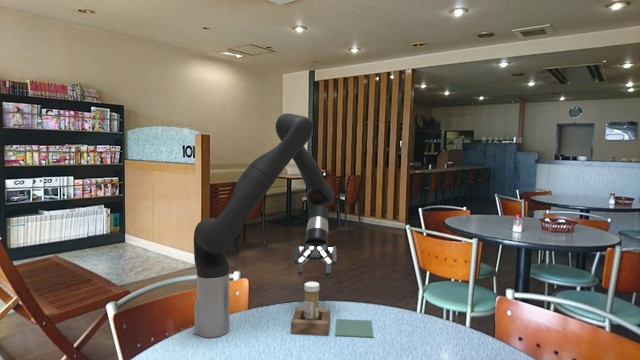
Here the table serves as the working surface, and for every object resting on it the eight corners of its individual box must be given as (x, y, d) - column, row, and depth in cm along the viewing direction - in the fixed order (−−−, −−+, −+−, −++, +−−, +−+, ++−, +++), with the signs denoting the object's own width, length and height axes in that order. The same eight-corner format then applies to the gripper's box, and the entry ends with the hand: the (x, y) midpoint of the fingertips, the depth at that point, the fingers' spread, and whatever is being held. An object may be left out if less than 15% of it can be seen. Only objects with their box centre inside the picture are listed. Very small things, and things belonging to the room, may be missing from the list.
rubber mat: (335, 336, 113) (335, 334, 113) (336, 320, 124) (336, 319, 124) (373, 337, 113) (373, 336, 113) (371, 321, 124) (371, 320, 124)
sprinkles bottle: (321, 327, 119) (322, 284, 118) (308, 331, 116) (309, 287, 116) (313, 322, 123) (314, 280, 122) (301, 325, 120) (301, 282, 119)
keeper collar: (290, 333, 114) (290, 322, 114) (296, 318, 125) (296, 307, 125) (328, 335, 114) (328, 324, 113) (330, 319, 125) (330, 309, 124)
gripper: (296, 226, 134) (290, 268, 124) (337, 227, 133) (335, 270, 123) (297, 238, 140) (293, 279, 129) (337, 239, 139) (336, 281, 128)
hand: (313, 275), depth 126 cm, fingers open, 8 cm apart
